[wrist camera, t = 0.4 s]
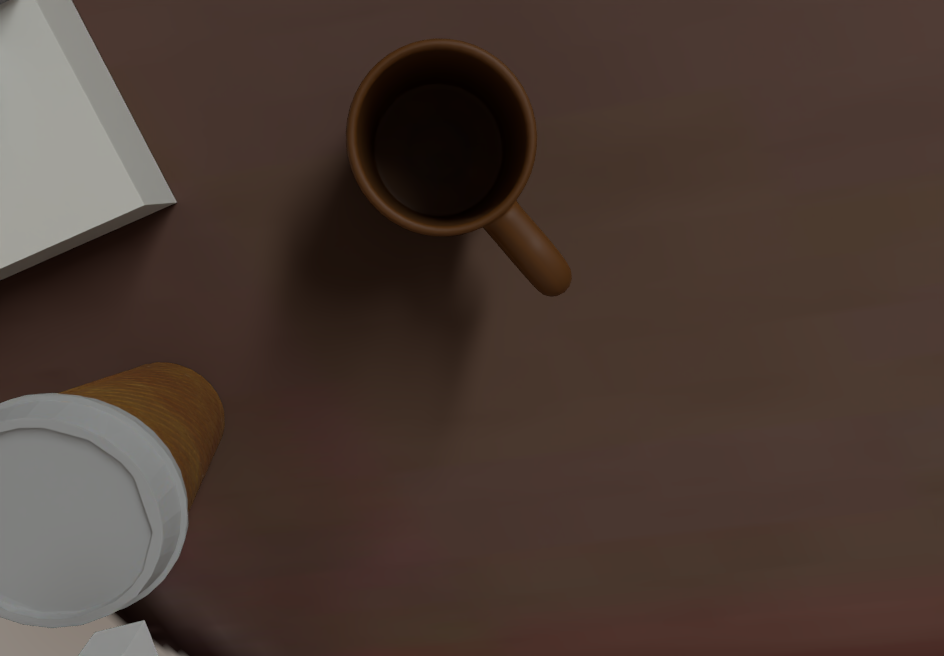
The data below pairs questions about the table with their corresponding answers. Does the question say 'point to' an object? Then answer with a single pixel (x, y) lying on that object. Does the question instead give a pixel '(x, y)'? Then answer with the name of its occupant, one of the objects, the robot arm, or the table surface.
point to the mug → (451, 151)
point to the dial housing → (64, 139)
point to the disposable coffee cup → (100, 490)
